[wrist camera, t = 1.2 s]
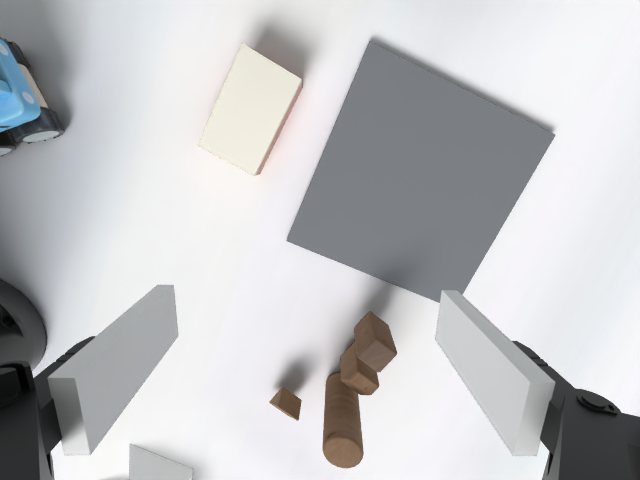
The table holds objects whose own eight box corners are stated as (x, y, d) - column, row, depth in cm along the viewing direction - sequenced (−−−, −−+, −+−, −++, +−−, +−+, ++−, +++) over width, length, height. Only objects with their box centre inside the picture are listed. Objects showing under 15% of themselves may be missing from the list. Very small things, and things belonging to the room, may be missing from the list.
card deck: (210, 146, 34) (197, 145, 31) (250, 56, 32) (242, 43, 28) (260, 173, 35) (253, 176, 31) (302, 87, 33) (301, 79, 29)
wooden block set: (356, 295, 39) (363, 339, 29) (410, 336, 40) (434, 392, 30) (271, 392, 43) (252, 461, 33) (322, 427, 44) (318, 504, 34)
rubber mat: (287, 239, 37) (286, 240, 36) (368, 44, 32) (369, 41, 31) (451, 305, 40) (454, 308, 39) (550, 135, 35) (555, 134, 34)
